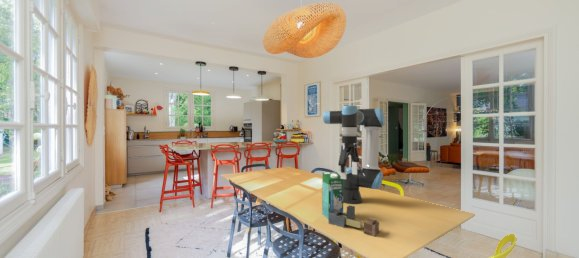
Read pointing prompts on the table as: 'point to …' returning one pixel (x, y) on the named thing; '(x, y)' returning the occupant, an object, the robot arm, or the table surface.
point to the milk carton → (332, 193)
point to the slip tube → (352, 218)
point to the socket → (371, 227)
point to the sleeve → (337, 218)
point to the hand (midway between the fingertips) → (349, 176)
